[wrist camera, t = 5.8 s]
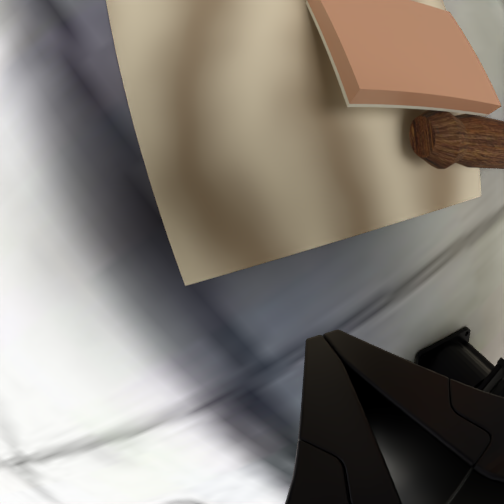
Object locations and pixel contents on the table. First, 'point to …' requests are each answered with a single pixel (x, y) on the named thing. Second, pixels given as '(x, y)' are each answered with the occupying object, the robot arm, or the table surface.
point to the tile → (402, 56)
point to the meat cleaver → (458, 140)
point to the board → (263, 135)
